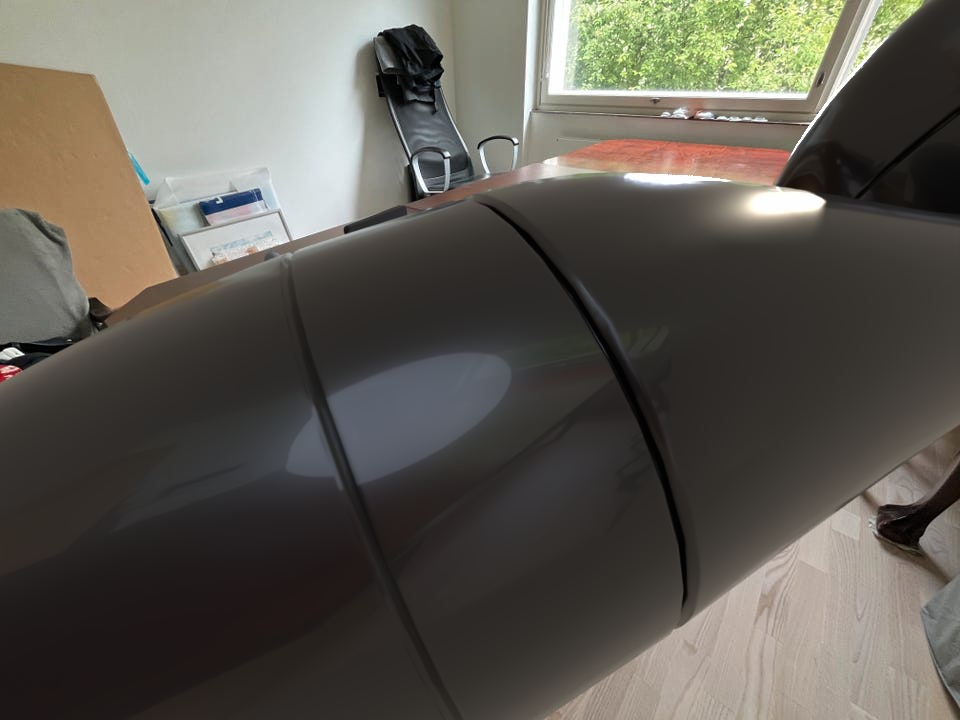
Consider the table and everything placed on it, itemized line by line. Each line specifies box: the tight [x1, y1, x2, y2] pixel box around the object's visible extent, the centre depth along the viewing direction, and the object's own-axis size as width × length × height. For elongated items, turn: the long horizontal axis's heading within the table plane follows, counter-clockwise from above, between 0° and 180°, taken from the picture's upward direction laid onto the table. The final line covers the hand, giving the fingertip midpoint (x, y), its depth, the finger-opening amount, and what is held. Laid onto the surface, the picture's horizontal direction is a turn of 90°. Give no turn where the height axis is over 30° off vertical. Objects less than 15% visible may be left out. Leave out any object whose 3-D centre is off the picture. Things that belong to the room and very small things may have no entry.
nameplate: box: [343, 204, 408, 235], centre depth 100 cm, size 21×2×10 cm, turn 147°
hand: (383, 446), depth 37 cm, fingers open, 8 cm apart
